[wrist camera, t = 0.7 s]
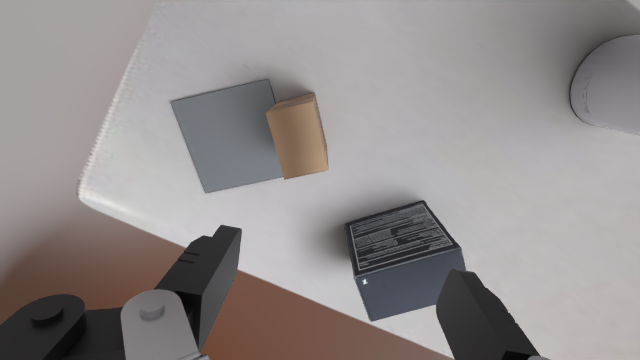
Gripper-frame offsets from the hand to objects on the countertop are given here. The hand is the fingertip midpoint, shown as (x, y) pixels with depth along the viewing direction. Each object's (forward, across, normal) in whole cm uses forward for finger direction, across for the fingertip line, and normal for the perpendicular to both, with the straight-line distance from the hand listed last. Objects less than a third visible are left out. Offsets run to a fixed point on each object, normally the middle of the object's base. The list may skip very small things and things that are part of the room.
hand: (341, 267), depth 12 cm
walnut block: (+25, +4, 0) cm, 25 cm away
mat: (+24, +11, +3) cm, 27 cm away
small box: (+25, -10, +11) cm, 29 cm away
